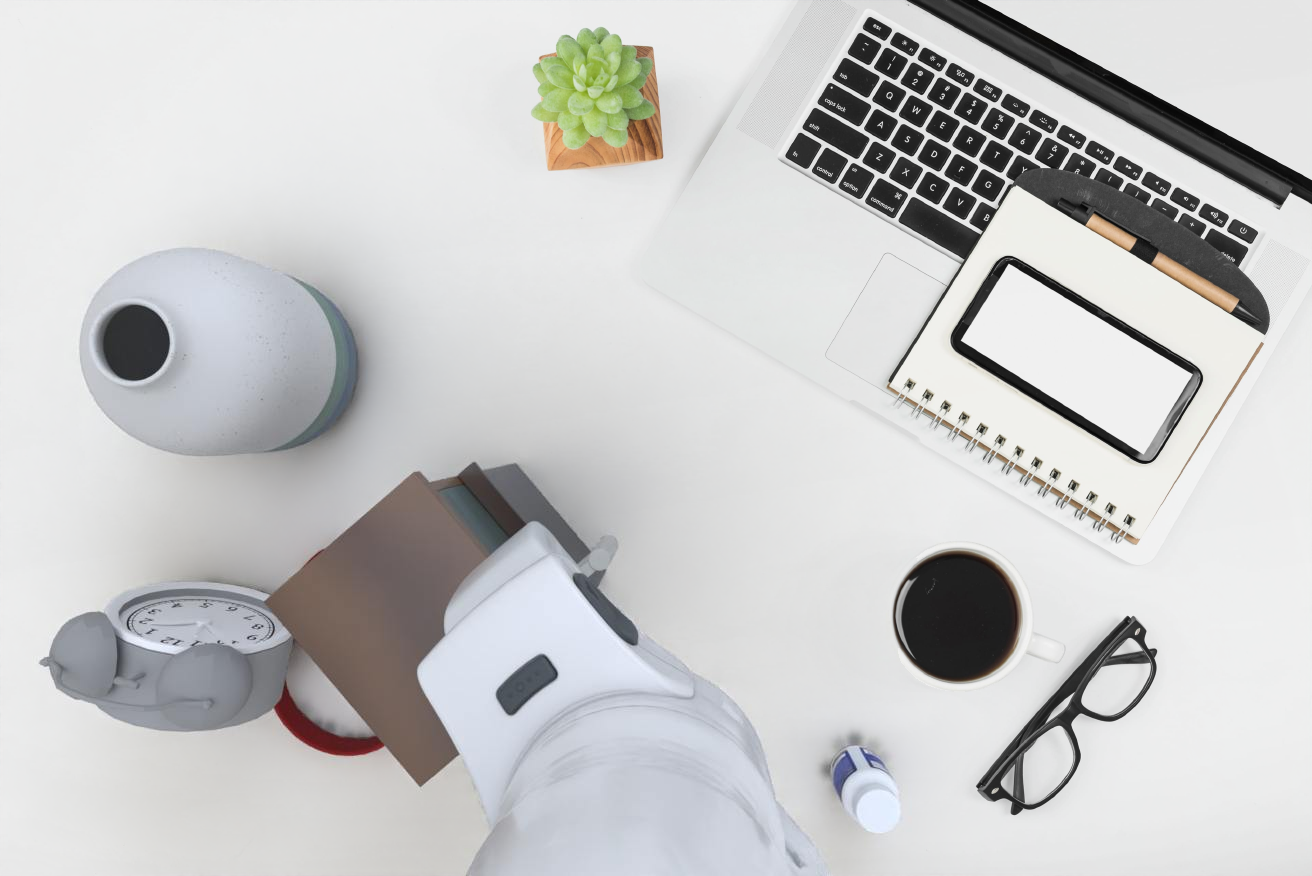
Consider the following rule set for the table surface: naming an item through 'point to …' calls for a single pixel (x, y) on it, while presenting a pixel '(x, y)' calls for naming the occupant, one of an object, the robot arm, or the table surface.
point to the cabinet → (407, 596)
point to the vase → (216, 355)
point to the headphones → (316, 735)
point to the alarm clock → (176, 656)
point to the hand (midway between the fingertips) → (656, 679)
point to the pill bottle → (866, 789)
